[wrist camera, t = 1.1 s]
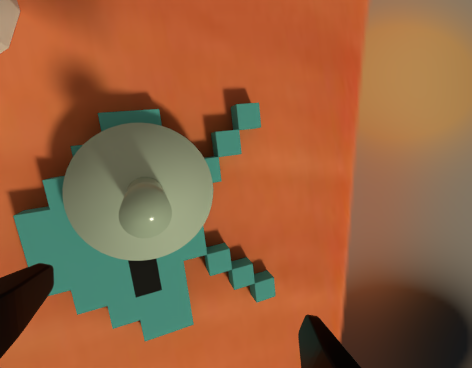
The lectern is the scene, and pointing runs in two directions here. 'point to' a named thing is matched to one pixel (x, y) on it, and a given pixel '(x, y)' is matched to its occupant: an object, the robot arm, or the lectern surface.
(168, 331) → the alien figure
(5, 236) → the lectern surface
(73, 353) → the lectern surface
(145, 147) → the lid
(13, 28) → the bowl
